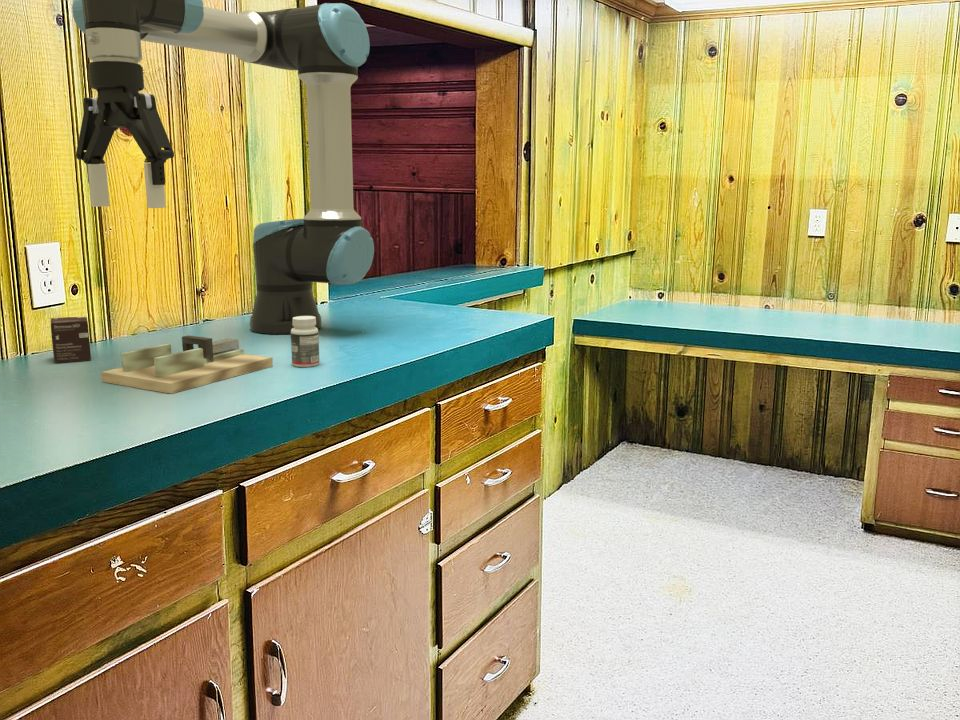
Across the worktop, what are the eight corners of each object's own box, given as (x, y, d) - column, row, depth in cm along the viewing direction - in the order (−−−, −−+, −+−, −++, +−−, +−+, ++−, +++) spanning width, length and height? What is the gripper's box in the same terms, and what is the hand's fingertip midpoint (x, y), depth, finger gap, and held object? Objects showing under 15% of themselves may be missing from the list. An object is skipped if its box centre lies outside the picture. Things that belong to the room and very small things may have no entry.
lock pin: (229, 351, 153) (228, 338, 152) (239, 352, 152) (238, 339, 151) (199, 358, 147) (198, 344, 146) (209, 359, 146) (208, 346, 145)
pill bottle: (290, 362, 151) (287, 316, 149) (317, 360, 153) (315, 314, 151) (294, 368, 147) (292, 320, 145) (321, 366, 148) (319, 318, 147)
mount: (206, 357, 156) (204, 326, 155) (272, 366, 148) (271, 334, 147) (102, 381, 137) (98, 347, 136) (171, 393, 130) (168, 357, 128)
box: (54, 364, 151) (49, 323, 149) (54, 357, 156) (50, 318, 155) (91, 360, 153) (87, 320, 152) (90, 354, 159) (86, 315, 157)
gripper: (42, 65, 131) (57, 206, 135) (148, 52, 118) (160, 209, 122) (87, 70, 137) (99, 205, 141) (192, 59, 124) (202, 207, 128)
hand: (127, 207), depth 132 cm, fingers open, 13 cm apart
